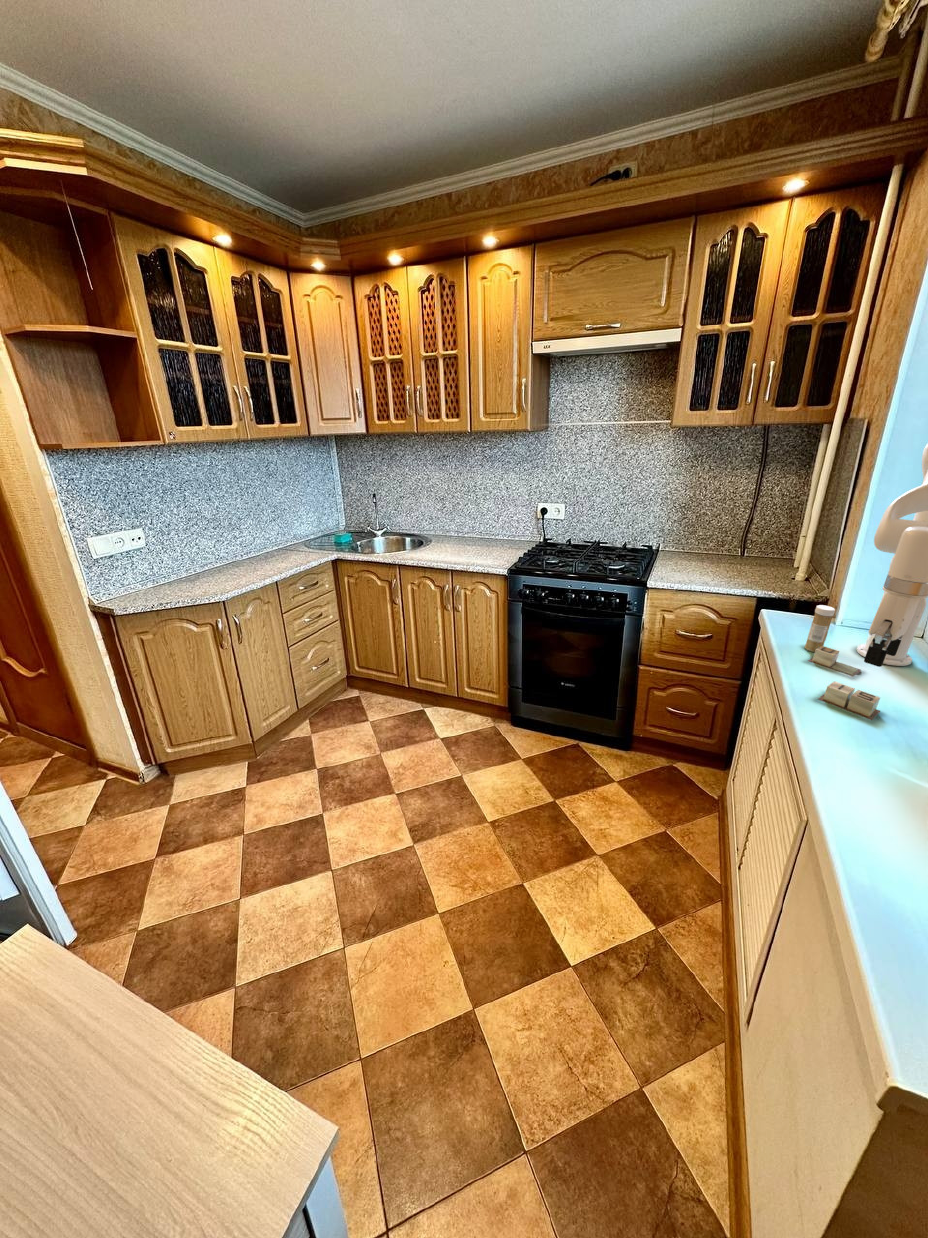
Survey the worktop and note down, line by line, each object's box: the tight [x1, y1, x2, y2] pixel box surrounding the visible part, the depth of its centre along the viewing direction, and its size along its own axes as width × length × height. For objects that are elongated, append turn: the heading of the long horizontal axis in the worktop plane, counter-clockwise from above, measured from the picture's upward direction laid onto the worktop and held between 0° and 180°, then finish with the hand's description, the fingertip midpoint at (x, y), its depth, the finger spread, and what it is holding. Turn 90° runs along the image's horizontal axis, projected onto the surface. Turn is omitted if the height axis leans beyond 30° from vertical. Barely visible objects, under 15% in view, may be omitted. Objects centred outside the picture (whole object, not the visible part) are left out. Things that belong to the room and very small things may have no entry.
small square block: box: [847, 689, 881, 717], centre depth 118 cm, size 4×4×4 cm
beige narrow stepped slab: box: [807, 645, 862, 677], centre depth 139 cm, size 6×11×4 cm, turn 38°
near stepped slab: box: [817, 681, 881, 721], centre depth 120 cm, size 6×11×4 cm, turn 38°
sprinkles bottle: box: [804, 604, 836, 653], centre depth 148 cm, size 5×5×14 cm
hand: (879, 658), depth 114 cm, fingers open, 9 cm apart
